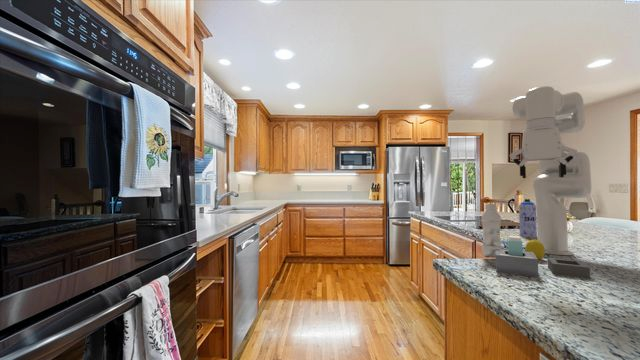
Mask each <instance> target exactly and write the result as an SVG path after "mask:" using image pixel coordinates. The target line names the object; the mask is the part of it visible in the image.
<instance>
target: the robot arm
mask: <svg viewBox="0 0 640 360" xmlns="http://www.w3.org/2000/svg"><path fill="white" fill-rule="evenodd" d="M511 107H512V109H511V110H512V113H513V115H514V116H515V118H517V119H525V120H526V121H525V122H526V123H525V124H526V127H525V128H526V130H525V131H523V135H522V139H521V140H522V141H521V148H519V149H518V150H516V151H514V152H511V153H510V154H509V157H510V159H511V160H512V162H514V164H516V165H517V166H519V176H520V177H522V179H526V177H527V173H526V172H527V170H526V166H525V165H526V163H527V162H528V161H529V162H532V161H538V169H539V172H540V175H538V176H536V177H534V179H533V181H532V183H533V184H532V185H533V191H534V192H533V193H534V197H535V203H536V204H535V205H536V221H537V237H536V240H537V241H540V242H541V243H542V244H543V246H544V248H545V254H548V255H557V256H571V255H574V251H573V250H572V249H569V240H568V239H569V238H568V210H567V208H566V205H564V204H563V202H562V201H560V200H559V199H560V198H562V199H565V198H567V199H579V198H580V199H581V198H582V199H583V198H587V197H589V196H590V195H591V192H592V177H591V163H590V158H589V156H588V154H587V153H586V152H583V151H578V150H577V149H574V148H571V147H568V146H565V144H564V143H563V142H562V138H561V137H562V136H561V135H562V134H563V135H564V134H573V133H574V134H575V133H579V132H581V131H582V130H583V129H584V127H585V124H586V123H585V103H584V98H583V96H582V95H581V94H580V93H579V92H576V91H572V92H571V91H570V92H566V93H561V92H560V91H558V90H555V89H554V88H553V86H549V85H548V86H543V85H542V86H538V87H533V88H532V89H531V88H530V89H529V90H528V91H527V92H526V93H525V95H524V96H519V97H517V98H515V99H514V101H513V103H512V106H511ZM520 154H521V157H522V160H521V161H520V160H519V159H518V158H517V157H516V156H517V155H520Z"/></svg>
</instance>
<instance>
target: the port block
mask: <svg viewBox="0 0 640 360" xmlns="http://www.w3.org/2000/svg"><path fill="white" fill-rule="evenodd" d="M495 254H496V257H495V271H496V273H502V274H508V275H515V276H517V275H518V276H523V277H524V276H525V277H532V278H539V260H538V259H537V257H536V256H535V254H534V253H533V252H525V250H523V256H518V255H508V249H504V248H503V249H495Z"/></svg>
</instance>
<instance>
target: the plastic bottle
mask: <svg viewBox="0 0 640 360" xmlns="http://www.w3.org/2000/svg"><path fill="white" fill-rule="evenodd" d="M484 209H485V211H484V212H483V214H482V215H481V224H482V232H483V239H482V245H481V246H482V247H481V253H482V255H483V256H484V258H488V259H489V258H496V254H495V249H502V246H501V234H500V233H501V224H502V217H501V215H500V214H499V212H498V211H497V209H498V207H497V204H496V203H485V206H484Z"/></svg>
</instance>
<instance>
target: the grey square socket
mask: <svg viewBox="0 0 640 360" xmlns="http://www.w3.org/2000/svg"><path fill="white" fill-rule="evenodd" d="M547 268H548V269H549V271H550V272H551V274H552V275H556V276H557V275H558V276H566V277H574V278H582V279H589V280H590V279H591V269H590V268H591V267H589V266H588V265H587V264H586V263H585V262H583V261H582V260H576V259H575V260H574V259H564V258H555V257H547Z"/></svg>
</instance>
